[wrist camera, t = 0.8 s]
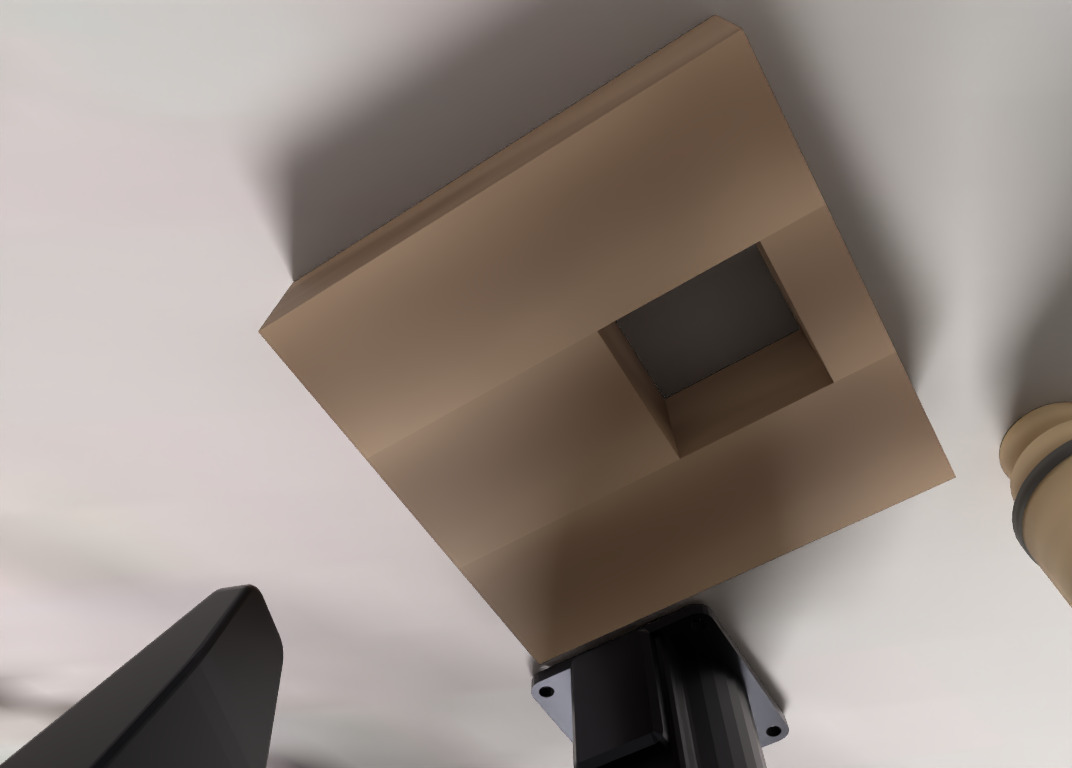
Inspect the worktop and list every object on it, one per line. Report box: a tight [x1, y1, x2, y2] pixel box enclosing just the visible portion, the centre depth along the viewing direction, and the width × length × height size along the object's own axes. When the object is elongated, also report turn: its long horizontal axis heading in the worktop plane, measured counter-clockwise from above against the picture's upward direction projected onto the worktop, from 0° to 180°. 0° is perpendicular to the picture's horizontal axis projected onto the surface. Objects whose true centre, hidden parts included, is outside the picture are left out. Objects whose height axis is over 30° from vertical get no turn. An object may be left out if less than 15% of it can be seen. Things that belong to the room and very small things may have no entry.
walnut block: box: [258, 15, 956, 664], centre depth 22 cm, size 12×12×3 cm
